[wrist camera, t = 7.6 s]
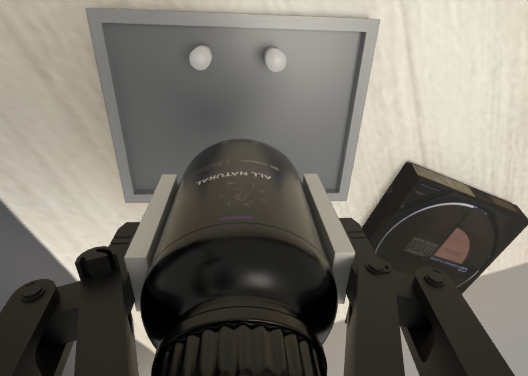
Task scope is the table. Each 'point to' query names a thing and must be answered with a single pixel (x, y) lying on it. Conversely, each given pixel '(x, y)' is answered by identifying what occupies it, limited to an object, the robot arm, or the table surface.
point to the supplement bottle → (239, 271)
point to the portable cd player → (441, 226)
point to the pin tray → (231, 89)
